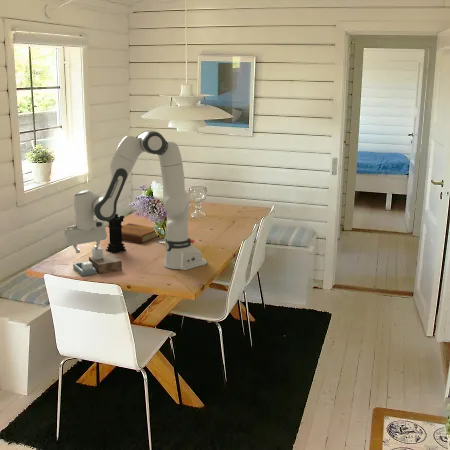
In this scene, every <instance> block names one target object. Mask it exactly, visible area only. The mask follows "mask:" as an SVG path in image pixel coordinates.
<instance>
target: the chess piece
mask: <svg viewBox="0 0 450 450" xmlns="http://www.w3.org/2000/svg"><path fill="white" fill-rule="evenodd" d="M124 219H125V215H120V216H119V214H118V213H116V214H115V216H114V217H113V218H112V219H111V220H109V221H106V222H107V223H108V225H107V228H108V229H109V230H108V232H109V233H108V235H109V243H107V246H106V249H105V251H106V252H108V253H111V254H113V255H114V254H119V253H123V252H127V249H126V246H125V243H123V240H122V226H123V225H122V222H123V223H124Z"/></svg>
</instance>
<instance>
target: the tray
mask: <svg viewBox="0 0 450 450" xmlns="http://www.w3.org/2000/svg"><path fill="white" fill-rule="evenodd" d="M87 261H88V260H87ZM87 261H86V260H85V262H87ZM82 262H83V261H81V262H76V263H75V262H74V263H72V265H73V266H72V268H73V270H75V271H76V273H78V274H79V275H80V274H81V275H80V276H82V277H86V276H93V275H97V272H96V269H95V268H94V267H93V266H92V270H86V271H83V270H82Z"/></svg>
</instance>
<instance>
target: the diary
mask: <svg viewBox="0 0 450 450" xmlns="http://www.w3.org/2000/svg"><path fill="white" fill-rule="evenodd" d="M121 226H122V242H128V241H129V243H135V244H141V245H143V244H146V243H148V242H150V241H152V240H156V239H157V234H156V232H155V230H154V226H149V225H148V226H147V225H143V224H142V225H141V224H136V223H130V222H129V223H126V224H123V225H121Z"/></svg>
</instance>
